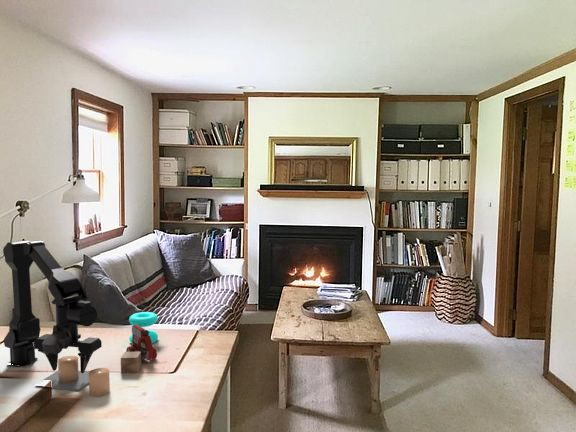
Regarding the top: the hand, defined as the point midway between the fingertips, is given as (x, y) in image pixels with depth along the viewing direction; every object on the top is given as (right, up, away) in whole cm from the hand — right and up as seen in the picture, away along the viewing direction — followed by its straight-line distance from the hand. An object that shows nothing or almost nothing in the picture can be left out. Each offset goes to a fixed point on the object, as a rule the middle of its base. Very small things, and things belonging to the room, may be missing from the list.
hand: (68, 371), depth 143 cm
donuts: (+12, 0, +33) cm, 36 cm away
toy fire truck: (+16, -2, +18) cm, 24 cm away
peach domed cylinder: (0, -2, 0) cm, 2 cm away
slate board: (0, -3, 0) cm, 3 cm away
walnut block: (+16, -2, +9) cm, 18 cm away
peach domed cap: (+12, -4, -7) cm, 14 cm away
